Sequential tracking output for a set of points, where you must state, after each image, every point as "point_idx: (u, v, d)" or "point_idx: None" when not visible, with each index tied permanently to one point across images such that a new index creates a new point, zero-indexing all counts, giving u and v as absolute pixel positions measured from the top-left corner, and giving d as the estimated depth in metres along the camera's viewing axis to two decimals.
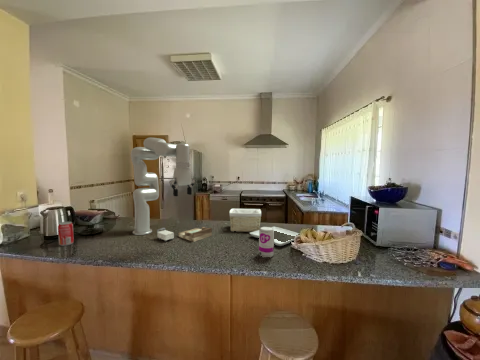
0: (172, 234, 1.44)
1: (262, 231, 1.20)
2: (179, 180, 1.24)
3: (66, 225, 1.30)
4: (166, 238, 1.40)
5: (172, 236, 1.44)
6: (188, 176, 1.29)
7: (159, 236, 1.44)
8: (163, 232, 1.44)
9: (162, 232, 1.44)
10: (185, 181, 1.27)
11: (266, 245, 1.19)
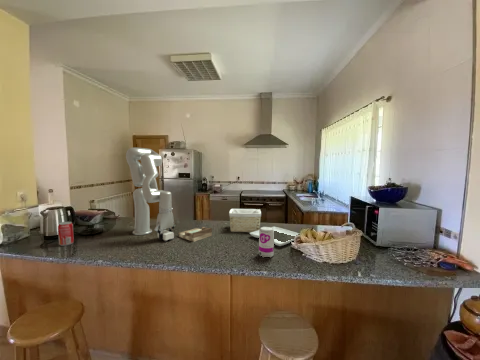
0: (172, 234, 1.44)
1: (262, 231, 1.20)
2: (162, 225, 1.40)
3: (66, 225, 1.30)
4: (166, 238, 1.40)
5: (172, 236, 1.44)
6: (170, 220, 1.44)
7: None
8: (163, 232, 1.44)
9: (162, 232, 1.44)
10: (167, 225, 1.43)
11: (266, 245, 1.19)
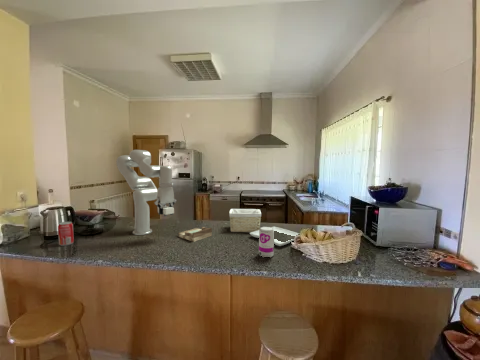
0: (172, 209, 1.43)
1: (262, 231, 1.20)
2: (162, 199, 1.39)
3: (66, 225, 1.31)
4: (166, 212, 1.39)
5: (172, 211, 1.43)
6: (171, 195, 1.43)
7: None
8: (163, 207, 1.43)
9: (162, 207, 1.43)
10: (168, 199, 1.42)
11: (266, 245, 1.19)
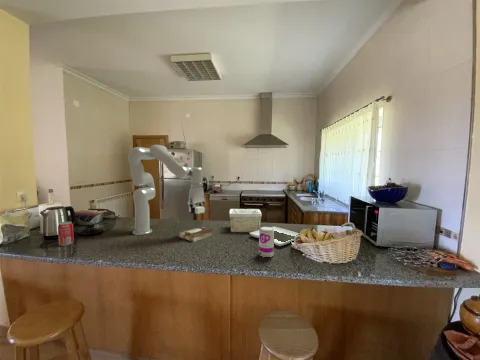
0: (203, 208, 1.49)
1: (262, 231, 1.20)
2: (194, 199, 1.46)
3: (66, 225, 1.31)
4: (198, 211, 1.46)
5: (203, 210, 1.50)
6: (201, 195, 1.50)
7: None
8: (194, 206, 1.50)
9: None
10: (199, 199, 1.49)
11: (266, 245, 1.19)
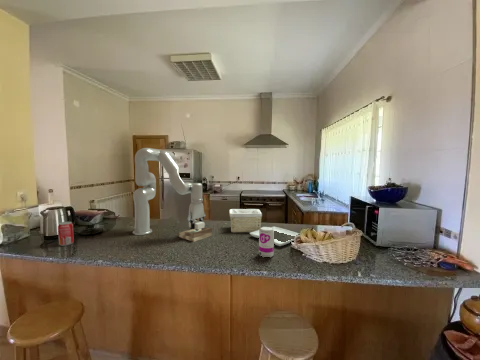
0: (203, 224, 1.50)
1: (262, 231, 1.20)
2: (194, 215, 1.47)
3: (66, 225, 1.31)
4: (198, 227, 1.47)
5: (203, 226, 1.50)
6: (201, 210, 1.51)
7: None
8: (194, 222, 1.51)
9: None
10: (199, 215, 1.50)
11: (266, 245, 1.19)
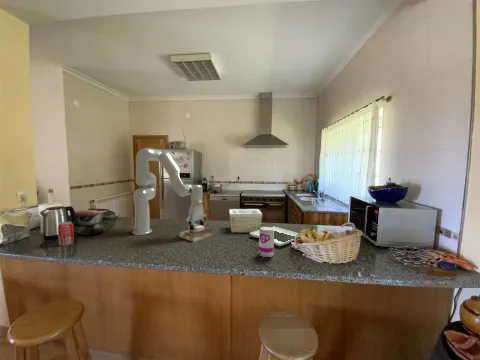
0: (203, 227, 1.50)
1: (262, 231, 1.20)
2: (194, 216, 1.47)
3: (66, 225, 1.31)
4: None
5: (203, 229, 1.50)
6: (201, 212, 1.51)
7: None
8: (194, 225, 1.51)
9: (193, 225, 1.51)
10: (199, 216, 1.50)
11: (266, 245, 1.19)
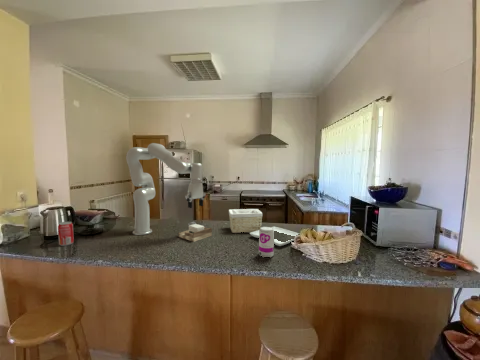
0: (203, 227, 1.50)
1: (262, 231, 1.20)
2: (193, 194, 1.46)
3: (66, 225, 1.30)
4: None
5: (203, 229, 1.50)
6: (200, 190, 1.50)
7: (190, 229, 1.51)
8: (194, 225, 1.51)
9: (193, 225, 1.51)
10: (198, 195, 1.49)
11: (266, 245, 1.19)
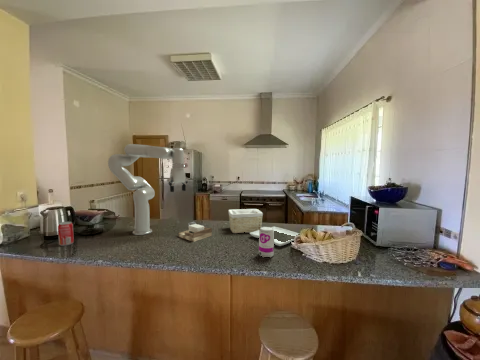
0: (203, 227, 1.50)
1: (262, 231, 1.20)
2: (175, 178, 1.49)
3: (66, 225, 1.31)
4: None
5: (203, 229, 1.50)
6: (182, 175, 1.54)
7: (190, 229, 1.51)
8: (194, 225, 1.51)
9: (193, 225, 1.51)
10: (180, 179, 1.52)
11: (266, 245, 1.19)
